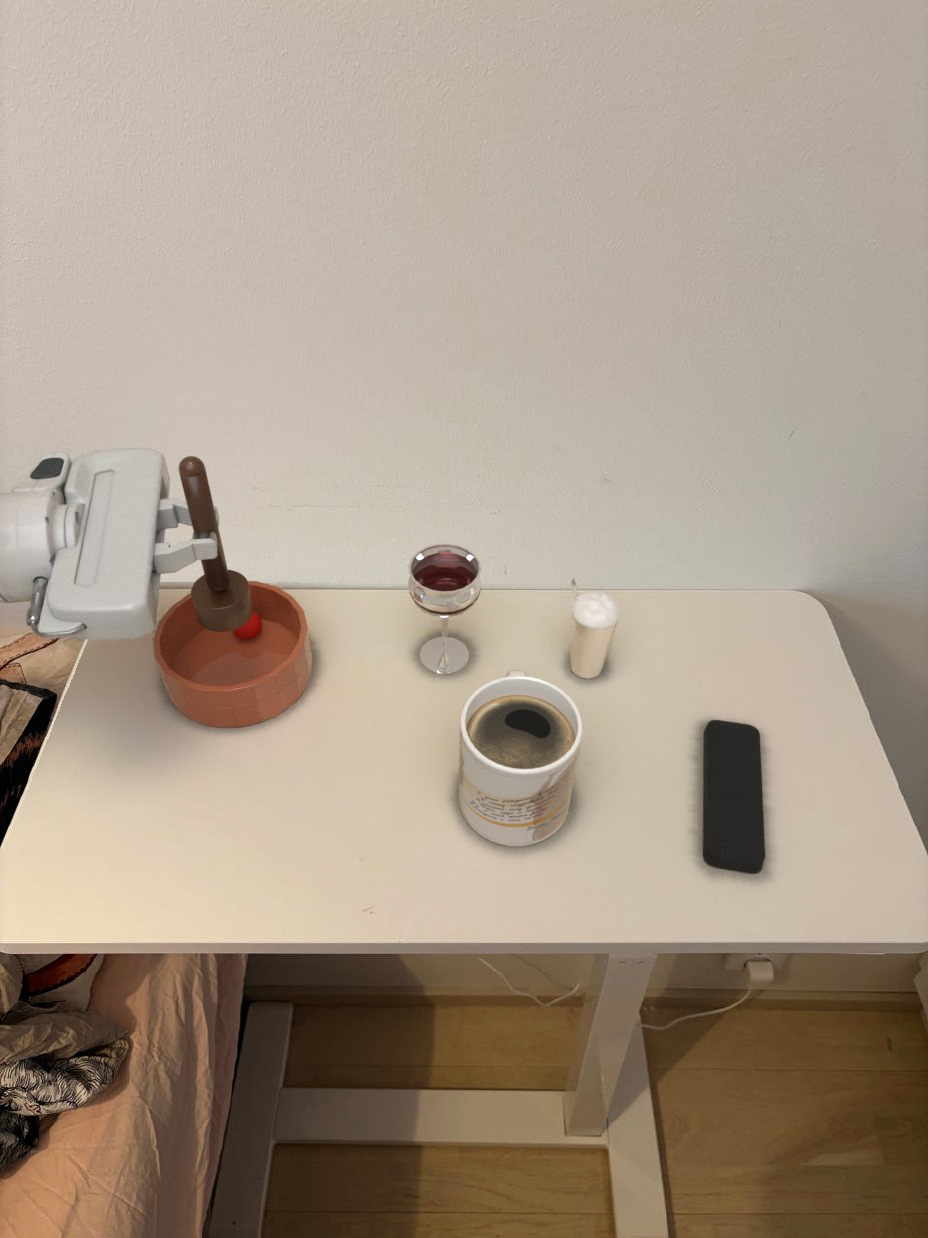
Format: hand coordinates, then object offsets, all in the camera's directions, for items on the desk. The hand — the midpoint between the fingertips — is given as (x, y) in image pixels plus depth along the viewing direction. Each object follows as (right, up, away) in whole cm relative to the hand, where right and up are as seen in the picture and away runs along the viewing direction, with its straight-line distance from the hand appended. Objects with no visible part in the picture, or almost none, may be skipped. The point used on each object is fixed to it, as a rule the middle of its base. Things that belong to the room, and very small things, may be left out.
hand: (217, 530), depth 77 cm
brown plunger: (-1, -7, +7) cm, 10 cm away
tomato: (-1, -8, +16) cm, 18 cm away
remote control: (+44, -23, +6) cm, 50 cm away
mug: (+25, -22, +6) cm, 34 cm away
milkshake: (+32, -12, +16) cm, 38 cm away
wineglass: (+19, -11, +17) cm, 27 cm away
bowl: (-2, -12, +15) cm, 19 cm away
